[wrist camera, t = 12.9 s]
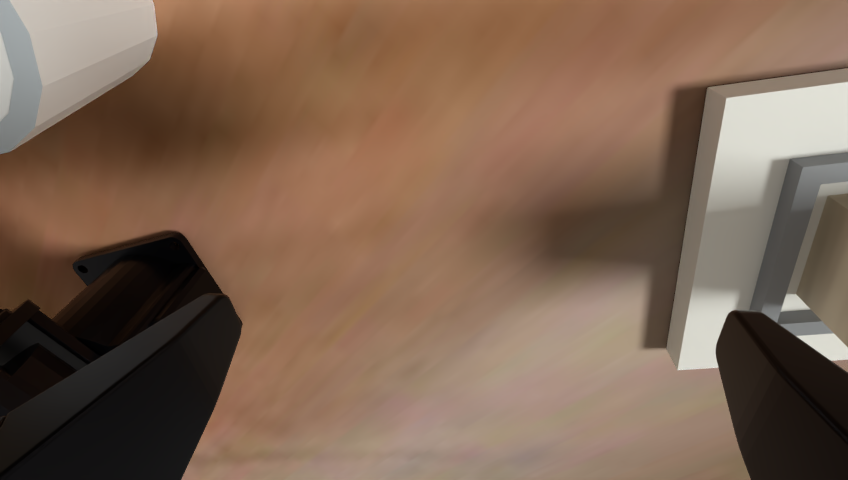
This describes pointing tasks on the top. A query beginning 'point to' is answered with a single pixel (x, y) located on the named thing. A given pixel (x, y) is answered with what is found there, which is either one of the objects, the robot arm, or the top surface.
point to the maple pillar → (829, 268)
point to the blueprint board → (759, 209)
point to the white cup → (65, 58)
